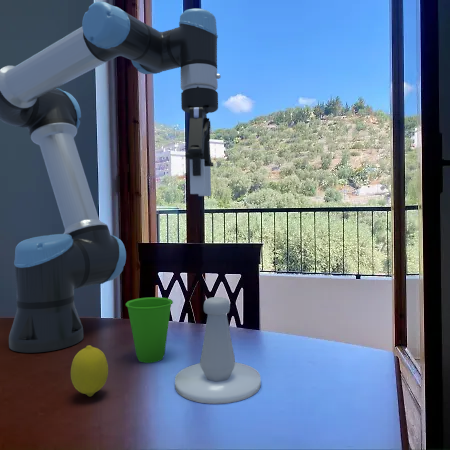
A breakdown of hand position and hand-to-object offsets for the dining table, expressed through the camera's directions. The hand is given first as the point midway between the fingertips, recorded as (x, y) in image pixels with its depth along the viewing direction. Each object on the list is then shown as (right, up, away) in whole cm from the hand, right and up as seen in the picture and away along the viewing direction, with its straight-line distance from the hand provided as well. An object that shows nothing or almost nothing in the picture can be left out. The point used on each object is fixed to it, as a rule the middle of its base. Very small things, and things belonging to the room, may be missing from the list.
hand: (201, 195), depth 86 cm
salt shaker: (+4, -31, -18) cm, 36 cm away
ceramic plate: (+4, -32, -18) cm, 37 cm away
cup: (-10, -32, -5) cm, 34 cm away
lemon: (-16, -33, -21) cm, 42 cm away
